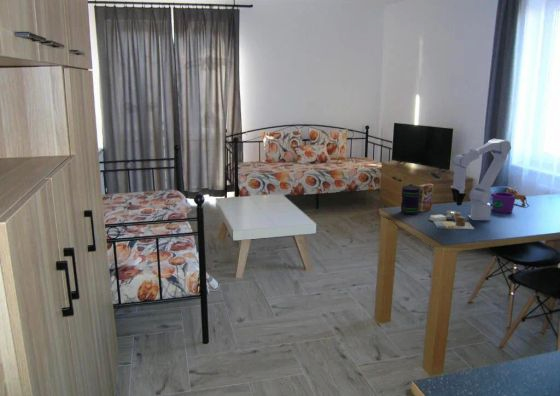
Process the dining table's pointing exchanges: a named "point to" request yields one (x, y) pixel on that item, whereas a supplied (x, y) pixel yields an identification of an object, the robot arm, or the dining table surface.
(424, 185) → the candy box
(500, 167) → the robot arm
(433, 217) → the soap bar
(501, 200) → the mug
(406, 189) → the storage jar
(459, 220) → the walnut cylinder
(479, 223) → the dining table surface
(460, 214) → the cork
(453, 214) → the tin
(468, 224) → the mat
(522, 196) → the lion figurine
